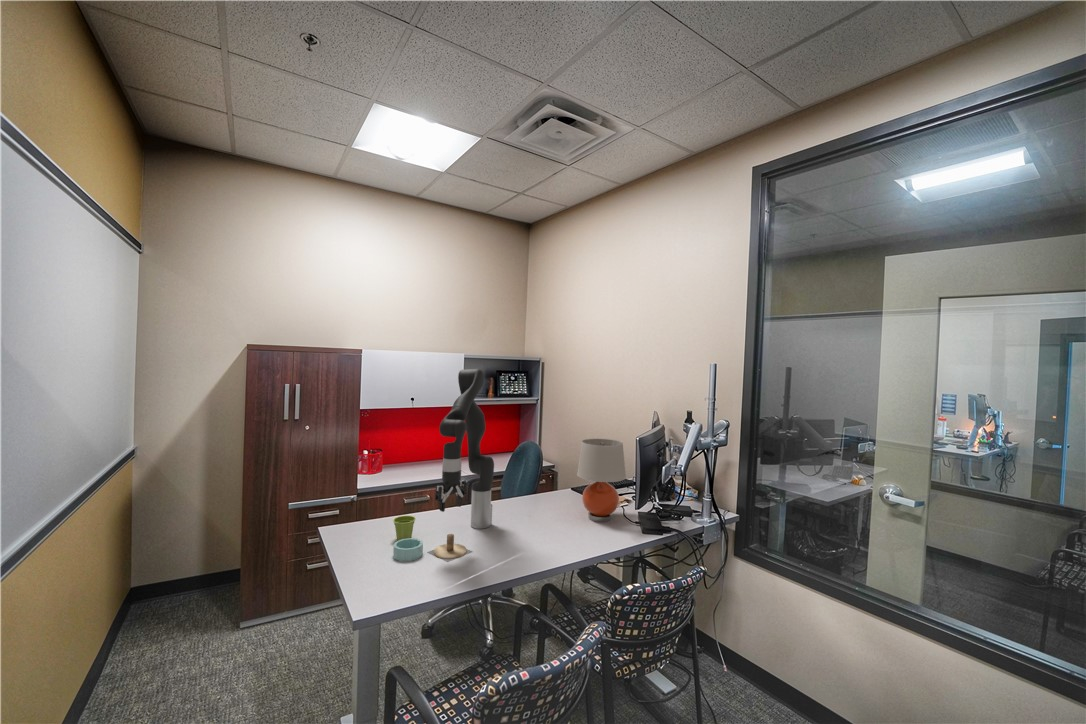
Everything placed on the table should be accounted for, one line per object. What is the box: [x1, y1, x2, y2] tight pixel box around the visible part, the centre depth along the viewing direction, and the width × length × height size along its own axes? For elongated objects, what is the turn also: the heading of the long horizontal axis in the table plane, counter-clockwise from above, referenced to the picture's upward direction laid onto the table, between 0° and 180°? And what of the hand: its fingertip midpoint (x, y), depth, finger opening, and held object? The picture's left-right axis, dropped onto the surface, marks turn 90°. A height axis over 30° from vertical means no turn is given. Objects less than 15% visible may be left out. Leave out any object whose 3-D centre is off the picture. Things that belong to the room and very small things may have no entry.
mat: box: [427, 548, 474, 563], centre depth 186 cm, size 13×13×1 cm
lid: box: [433, 533, 467, 560], centre depth 186 cm, size 13×13×7 cm
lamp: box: [576, 438, 627, 523], centre depth 233 cm, size 25×25×39 cm
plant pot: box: [392, 515, 417, 541], centre depth 199 cm, size 9×9×9 cm
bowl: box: [392, 537, 424, 562], centre depth 182 cm, size 11×11×5 cm
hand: (450, 508), depth 186 cm, fingers open, 8 cm apart
